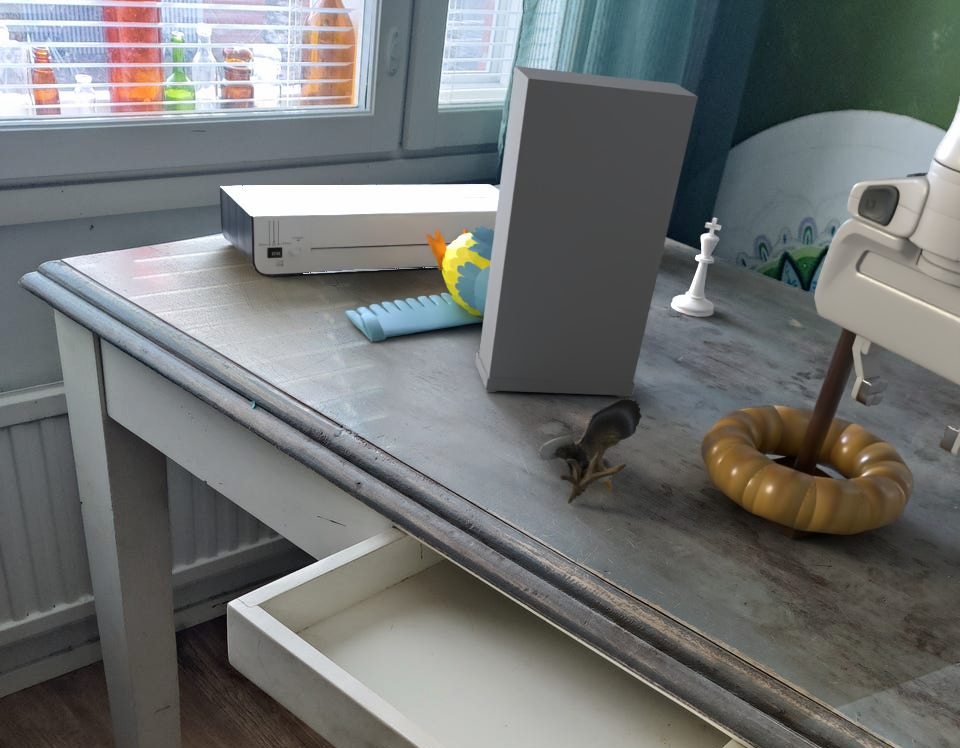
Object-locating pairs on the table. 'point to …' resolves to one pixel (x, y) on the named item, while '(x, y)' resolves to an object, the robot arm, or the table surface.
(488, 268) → the blue yellow toy
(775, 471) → the bread ring
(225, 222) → the laminator
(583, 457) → the eagle figurine
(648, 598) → the table surface
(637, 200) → the gray rectangular block
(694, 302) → the chess piece
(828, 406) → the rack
